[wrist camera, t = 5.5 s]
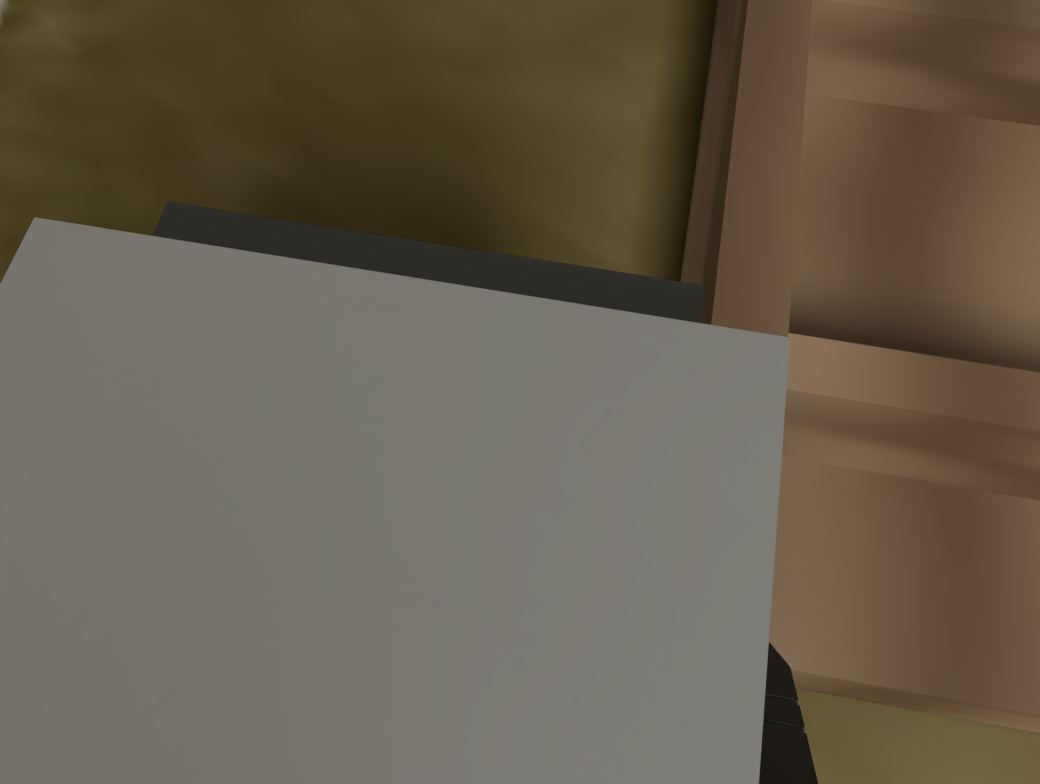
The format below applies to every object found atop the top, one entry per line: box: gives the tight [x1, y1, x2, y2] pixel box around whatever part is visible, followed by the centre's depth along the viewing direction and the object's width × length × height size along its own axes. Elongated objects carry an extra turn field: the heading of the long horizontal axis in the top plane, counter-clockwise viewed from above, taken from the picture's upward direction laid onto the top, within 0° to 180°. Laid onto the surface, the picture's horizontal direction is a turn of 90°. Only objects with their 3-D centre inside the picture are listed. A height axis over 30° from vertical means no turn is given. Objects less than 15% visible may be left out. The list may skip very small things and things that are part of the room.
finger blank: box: [0, 202, 790, 784], centre depth 10 cm, size 4×5×12 cm
